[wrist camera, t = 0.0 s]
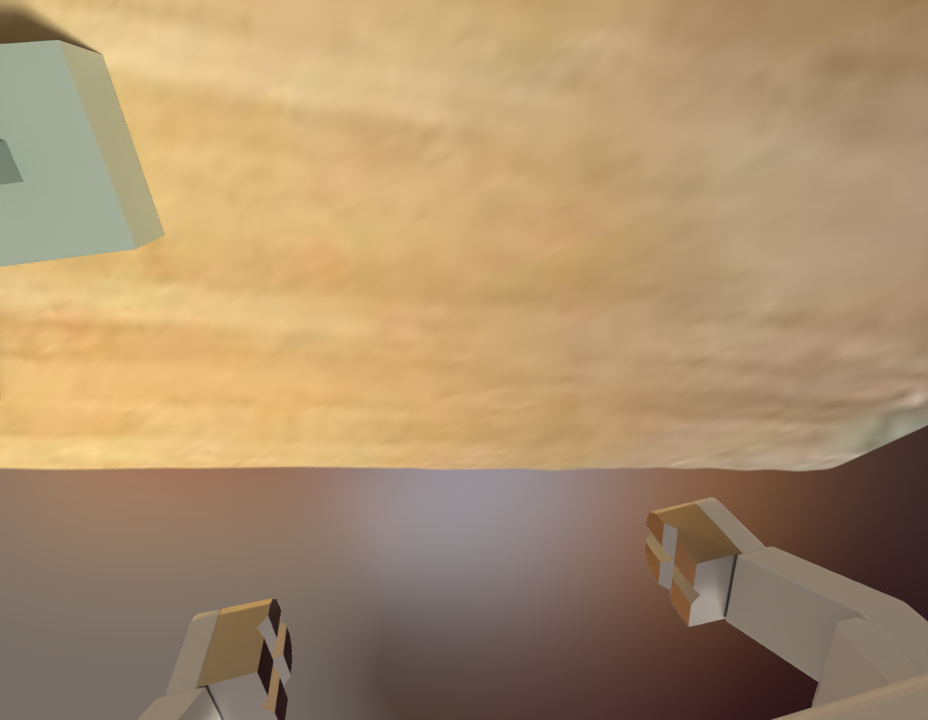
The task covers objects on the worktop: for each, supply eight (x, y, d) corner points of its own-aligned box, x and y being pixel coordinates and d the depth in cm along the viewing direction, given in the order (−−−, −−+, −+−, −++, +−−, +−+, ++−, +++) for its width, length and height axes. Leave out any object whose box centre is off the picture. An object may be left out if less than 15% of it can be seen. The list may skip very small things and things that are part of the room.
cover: (-101, 70, 41) (-247, 48, 31) (102, 54, 44) (26, 29, 34) (-8, 256, 48) (-104, 287, 38) (164, 234, 50) (116, 258, 40)
